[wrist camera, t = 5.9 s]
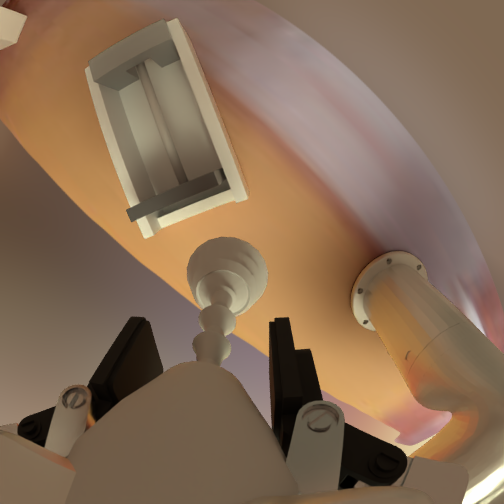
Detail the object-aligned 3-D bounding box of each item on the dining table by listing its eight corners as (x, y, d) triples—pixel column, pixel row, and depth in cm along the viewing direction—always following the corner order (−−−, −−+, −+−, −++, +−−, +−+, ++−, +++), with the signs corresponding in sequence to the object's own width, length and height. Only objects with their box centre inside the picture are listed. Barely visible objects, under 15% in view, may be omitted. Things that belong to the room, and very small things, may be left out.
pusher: (228, 176, 29) (218, 185, 21) (161, 204, 30) (131, 222, 22) (178, 47, 24) (155, 17, 16) (116, 80, 25) (78, 63, 17)
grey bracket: (249, 190, 31) (247, 200, 24) (162, 224, 32) (140, 242, 26) (189, 38, 24) (174, 13, 18) (108, 79, 26) (79, 67, 19)
